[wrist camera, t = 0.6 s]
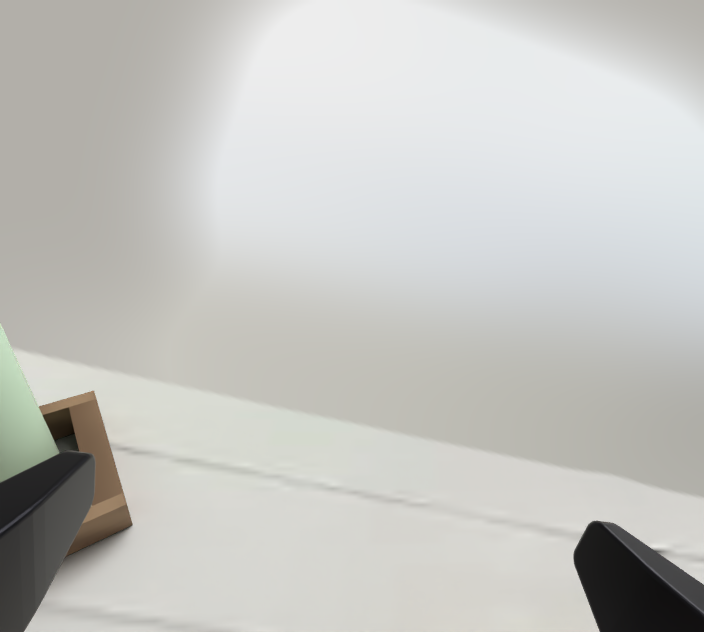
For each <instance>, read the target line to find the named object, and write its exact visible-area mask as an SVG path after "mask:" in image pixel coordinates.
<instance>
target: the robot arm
mask: <svg viewBox="0 0 704 632" xmlns="http://www.w3.org/2000/svg"><path fill="white" fill-rule="evenodd" d="M95 463H96V462H95V457H94V455H93V454H91V453H86V452H79V451H71V450H70V451H64V452H61V453H59V454H57V455H55V456H53V457H51V458H49V459H47V460H45V461H43V462H41V463H39V464H37V465H35V466H33V467H30V468H28V469H26V470H24V471H22V472H20V473H18V474H16V475H14V476H12V477H10V478H8V479H6V480H4V481H2V482H0V632H24V631H25V629H26V627H27V626H28V624H29V622H30V621H31V619H32V618H33V616H34V614H35V613H36V611H37V609H38V607H39V605H40V604H41V602H42V600H43V598H44V596H45V594H46V592H47V590H48V589H49V587H50V585H51V583H52V581H53V579H54V577H55V575H56V573H57V571H58V569H59V567H60V565H61V564H62V562H63V560H64V558H65V556H66V554H67V552H68V550H69V548H70V546H71V544H72V542H73V540H74V539H75V537H76V535H77V533H78V531H79V529H80V527H81V525H82V523H83V521H84V519H85V517H86V515H87V513H88V512H89V510H90V507H91V505H92V502H93V499H94V492H95ZM574 565H575V568H576V570H577V573H578V576H579V578H580V581H581V584H582V586H583V589H584V591H585V594H586V597H587V599H588V602H589V605H590V607H591V610H592V613H593V615H594V618H595V620H596V623H597V626H598V628H599V631H600V632H704V585H703V584H702V583H700V582H699V581H697V580H696V579H695V578H693V577H692V576H690V575H689V574H687V573H686V572H684V571H683V570H682V569H680V568H679V567H677V566H676V565H674V564H673V563H671V562H670V561H669V560H667V559H666V558H664V557H663V556H661V555H660V554H658V553H657V552H656V551H654V550H653V549H651V548H650V547H648V546H647V545H645V544H644V543H643V542H641V541H640V540H638V539H637V538H635V537H634V536H633V535H631V534H630V533H628V532H627V531H625V530H624V529H622V528H621V527H620V526H618V525H616V524H614V523H610V522H602V521H592V522H591V523H590V524H589V525H588V526H587V528H586V530H585V532H584V534H583V535H582V537H581V539H580V541H579V543H578V545H577V547H576V548H575V551H574Z"/></svg>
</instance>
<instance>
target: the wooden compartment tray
mask: <svg viewBox="0 0 704 632" xmlns="http://www.w3.org/2000/svg"><path fill="white" fill-rule="evenodd" d="M39 409H40V411H41V413H42V415H43V418H44V420H45V422H46V424H47V426H48V429H49V431H50V433H51V435H52V437H53V439H54V440H56V439H59V438H62V437H65V436H68V435H71V434H74V433H75V436H76V440H77V444H78V449H79V452H86V453H91V454H93V455H94V457H95V462H96V463H95V492H94V499H93V502H92V506H91V507H90V510H89V512H88V513H87V515H86V517H85V519H84V521H83V523H82V525H81V527H80V529H79V531H78V533H77V535H76V537H75V539H74V540H73V542H72V544H71V546H70V548H69V550H68V552H67V554H66V556H68V555H70V554H72V553H74V552H76V551H79V550H81V549H83V548H85V547H87V546H89V545H91V544H93V543H95V542H98V541H100V540H102V539H104V538H106V537H108V536H110V535H112V534H115V533H117V532H119V531H121V530H123V529H125V528H127V527H129V526H131V525H133V524H132V521H131V517H130V514H129V511H128V507H127V504H126V500H125V497H124V493H123V490H122V486H121V483H120V479H119V476H118V472H117V469H116V465H115V462H114V458H113V455H112V452H111V448H110V445H109V441H108V438H107V434H106V431H105V427H104V424H103V420H102V417H101V413H100V410H99V407H98V403H97V400H96V396H95V393H94V391H91V392H88V393H84V394H81V395H77V396H74V397H70V398H67V399H63V400H60V401H57V402H53V403H50V404H46V405H43V406H39ZM66 556H65V557H66Z"/></svg>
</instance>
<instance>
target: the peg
mask: <svg viewBox="0 0 704 632" xmlns="http://www.w3.org/2000/svg"><path fill="white" fill-rule="evenodd" d="M57 454H59V450H58V448H57V446H56V444H55V442H54V439H53V437H52V435H51V433H50V431H49V429H48V426H47V424H46V422H45V420H44V418H43V415H42V413H41V411H40V409H39V407H38V405H37V402H36V400H35V398H34V396H33V394H32V391H31V389H30V387H29V385H28V383H27V380H26V378H25V376H24V374H23V372H22V370H21V367H20V365H19V363H18V361H17V359H16V356H15V354H14V352H13V350H12V348H11V346H10V343H9V341H8V339H7V337H6V335H5V333H4V330H3V328H2V326H1V324H0V482H2V481H4V480H6V479H8V478H10V477H12V476H14V475H16V474H18V473H20V472H22V471H24V470H26V469H28V468H30V467H33V466H35V465H37V464H39V463H41V462H43V461H45V460H47V459H49V458H51V457H53V456H55V455H57Z"/></svg>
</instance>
